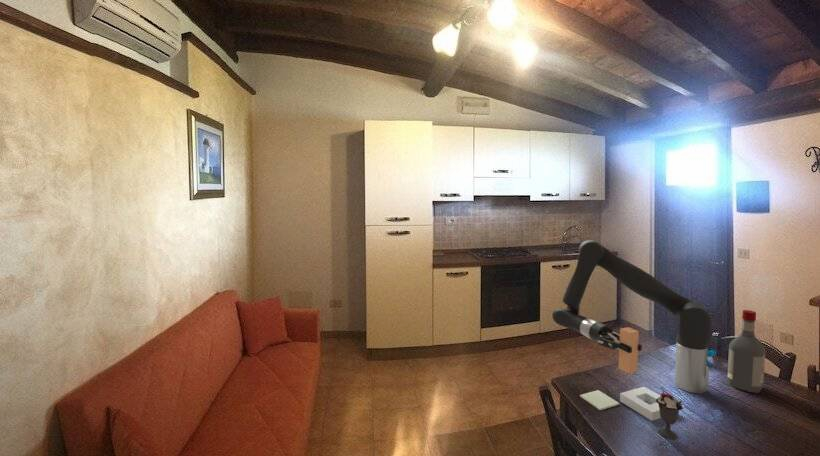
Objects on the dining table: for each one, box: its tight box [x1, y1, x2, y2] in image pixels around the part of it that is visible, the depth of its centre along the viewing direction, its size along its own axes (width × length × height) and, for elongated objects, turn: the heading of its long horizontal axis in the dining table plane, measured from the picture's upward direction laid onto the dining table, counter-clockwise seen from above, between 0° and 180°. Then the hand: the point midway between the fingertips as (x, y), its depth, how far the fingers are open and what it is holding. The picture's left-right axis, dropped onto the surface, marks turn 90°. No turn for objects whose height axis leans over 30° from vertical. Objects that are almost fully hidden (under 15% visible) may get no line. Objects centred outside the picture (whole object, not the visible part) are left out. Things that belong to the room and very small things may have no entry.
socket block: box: [619, 386, 661, 422], centre depth 121 cm, size 12×12×3 cm
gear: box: [706, 349, 718, 367], centre depth 149 cm, size 11×6×10 cm
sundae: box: [656, 386, 684, 440], centre depth 107 cm, size 7×7×15 cm
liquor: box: [726, 309, 766, 394], centre depth 131 cm, size 9×9×30 cm
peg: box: [618, 326, 640, 375], centre depth 122 cm, size 4×4×15 cm
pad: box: [579, 389, 620, 411], centre depth 126 cm, size 9×9×1 cm
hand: (635, 349), depth 119 cm, fingers closed on peg, 4 cm apart
